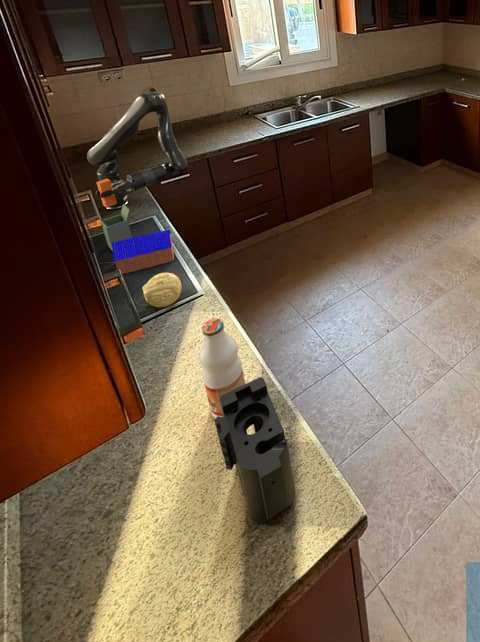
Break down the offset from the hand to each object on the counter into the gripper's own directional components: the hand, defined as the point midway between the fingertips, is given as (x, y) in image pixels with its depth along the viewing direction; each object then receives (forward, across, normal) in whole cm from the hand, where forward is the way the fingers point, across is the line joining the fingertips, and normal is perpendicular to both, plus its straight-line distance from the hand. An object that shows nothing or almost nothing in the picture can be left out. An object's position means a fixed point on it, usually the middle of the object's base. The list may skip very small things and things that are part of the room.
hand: (98, 194), depth 174 cm
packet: (-3, 0, +6) cm, 7 cm away
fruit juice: (+20, +105, +26) cm, 110 cm away
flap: (-7, +1, +11) cm, 13 cm away
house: (-3, +20, +26) cm, 33 cm away
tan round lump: (+6, +50, +26) cm, 57 cm away
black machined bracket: (+28, +128, +26) cm, 134 cm away
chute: (-3, 0, +26) cm, 26 cm away
